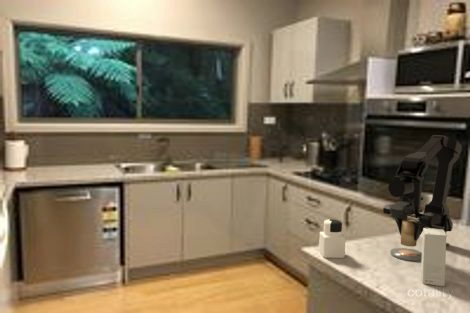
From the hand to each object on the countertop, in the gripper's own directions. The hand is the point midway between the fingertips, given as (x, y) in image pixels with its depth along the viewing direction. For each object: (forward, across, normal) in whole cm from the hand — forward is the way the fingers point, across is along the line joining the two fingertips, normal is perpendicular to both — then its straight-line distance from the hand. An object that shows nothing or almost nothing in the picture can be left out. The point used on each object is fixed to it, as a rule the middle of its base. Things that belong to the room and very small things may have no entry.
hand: (408, 238), depth 140 cm
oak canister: (+2, 0, 0) cm, 2 cm away
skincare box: (+6, +17, -12) cm, 22 cm away
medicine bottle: (+6, -13, -23) cm, 27 cm away
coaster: (+6, 0, 0) cm, 6 cm away
